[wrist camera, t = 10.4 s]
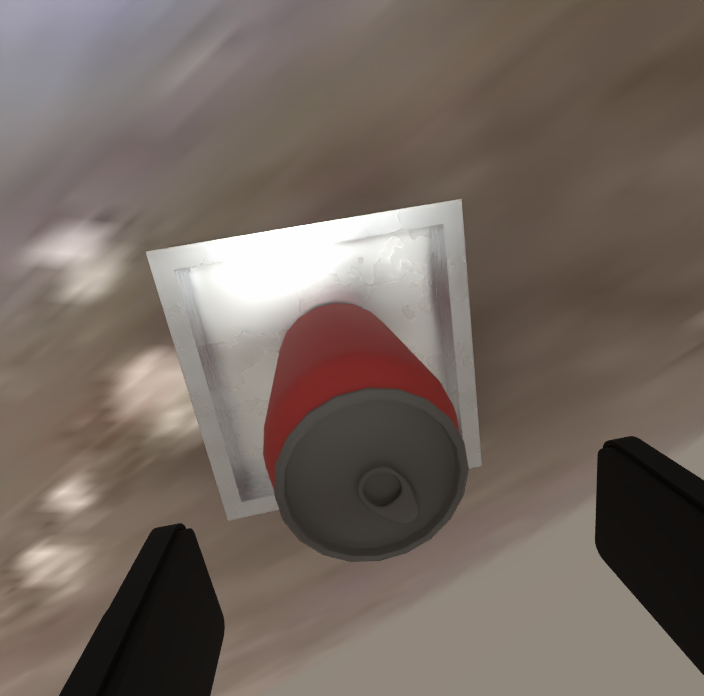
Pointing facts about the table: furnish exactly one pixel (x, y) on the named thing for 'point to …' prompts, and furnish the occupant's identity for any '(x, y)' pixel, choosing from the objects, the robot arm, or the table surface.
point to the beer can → (360, 438)
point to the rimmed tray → (296, 300)
